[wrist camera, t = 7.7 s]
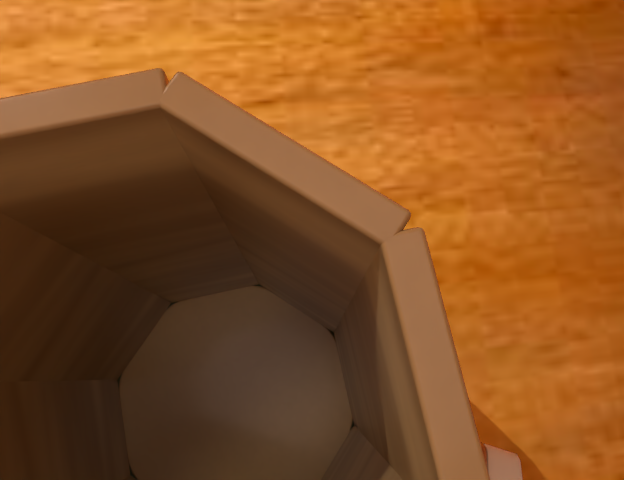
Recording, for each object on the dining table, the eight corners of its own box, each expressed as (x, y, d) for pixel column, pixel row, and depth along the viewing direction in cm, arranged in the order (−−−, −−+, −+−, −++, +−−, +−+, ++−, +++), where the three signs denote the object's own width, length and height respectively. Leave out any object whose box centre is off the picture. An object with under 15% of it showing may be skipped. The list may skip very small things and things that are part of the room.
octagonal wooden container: (406, 364, 16) (619, 336, 5) (271, 590, 14) (153, 1226, 4) (207, 235, 16) (10, -34, 6) (63, 439, 15) (-542, 595, 4)
